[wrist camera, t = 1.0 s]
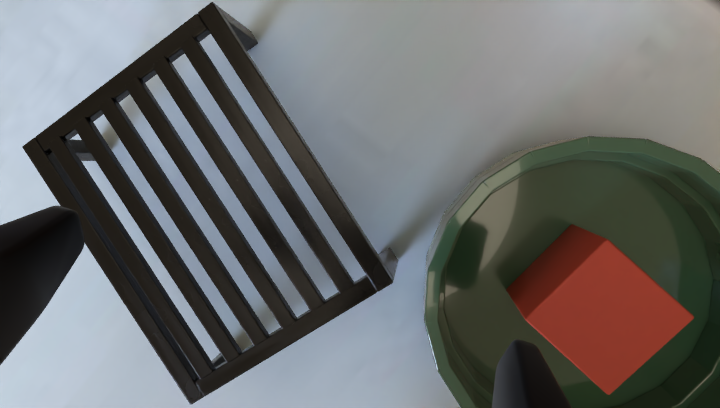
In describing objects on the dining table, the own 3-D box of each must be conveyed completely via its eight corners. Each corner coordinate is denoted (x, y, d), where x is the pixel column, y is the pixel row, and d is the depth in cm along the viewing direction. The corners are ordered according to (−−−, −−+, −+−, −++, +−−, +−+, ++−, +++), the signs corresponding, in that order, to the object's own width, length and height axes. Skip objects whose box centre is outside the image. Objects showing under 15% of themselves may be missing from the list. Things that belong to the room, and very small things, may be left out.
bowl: (785, 335, 23) (861, 372, 19) (519, 469, 25) (538, 528, 21) (624, 82, 23) (667, 66, 19) (371, 240, 25) (362, 255, 21)
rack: (398, 259, 25) (392, 285, 20) (229, 363, 26) (185, 410, 22) (250, 30, 25) (207, -2, 20) (90, 148, 26) (14, 146, 21)
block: (642, 287, 23) (696, 317, 18) (573, 352, 24) (609, 396, 19) (571, 223, 23) (607, 238, 19) (505, 289, 24) (524, 319, 19)
